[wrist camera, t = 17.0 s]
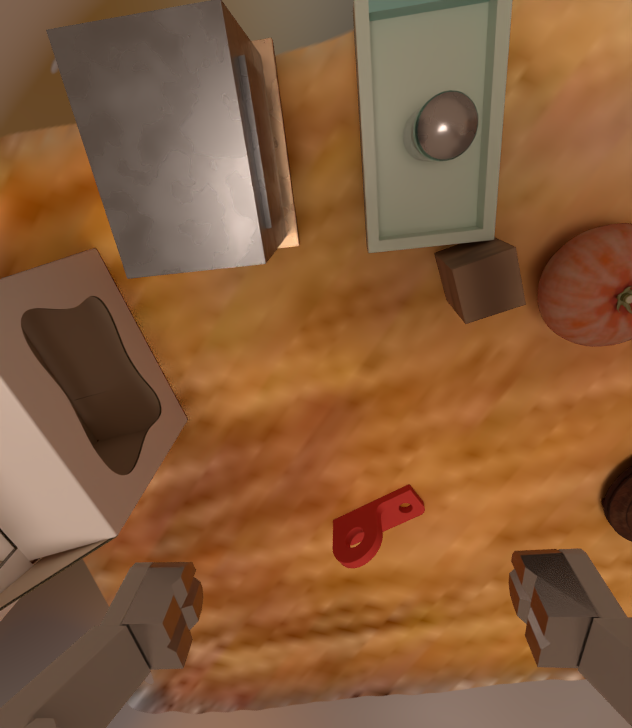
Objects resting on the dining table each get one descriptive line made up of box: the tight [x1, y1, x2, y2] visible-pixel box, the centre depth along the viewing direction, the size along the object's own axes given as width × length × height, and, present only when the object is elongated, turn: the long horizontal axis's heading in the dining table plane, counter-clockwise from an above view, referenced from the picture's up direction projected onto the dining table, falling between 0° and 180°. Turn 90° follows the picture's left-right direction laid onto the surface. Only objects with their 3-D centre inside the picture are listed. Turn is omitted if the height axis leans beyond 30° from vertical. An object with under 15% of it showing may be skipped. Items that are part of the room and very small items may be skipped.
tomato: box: [538, 223, 632, 346], centre depth 35 cm, size 11×11×8 cm
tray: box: [353, 0, 512, 253], centre depth 33 cm, size 11×18×3 cm, turn 7°
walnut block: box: [434, 237, 526, 324], centre depth 36 cm, size 5×5×7 cm
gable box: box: [0, 248, 187, 621], centre depth 33 cm, size 22×13×28 cm, turn 17°
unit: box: [46, 0, 300, 279], centre depth 30 cm, size 12×16×13 cm
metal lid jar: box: [403, 90, 478, 161], centre depth 30 cm, size 4×4×7 cm
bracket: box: [333, 485, 425, 568], centre depth 51 cm, size 12×4×8 cm, turn 126°
